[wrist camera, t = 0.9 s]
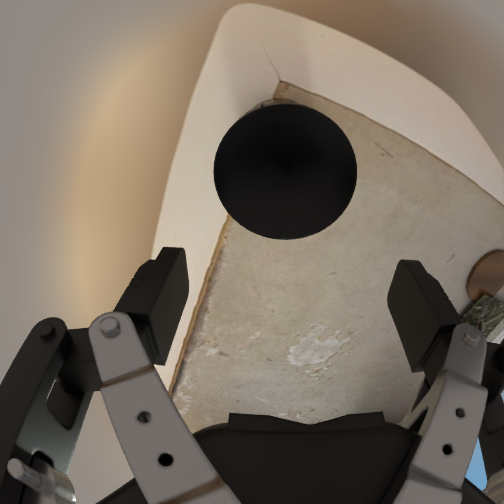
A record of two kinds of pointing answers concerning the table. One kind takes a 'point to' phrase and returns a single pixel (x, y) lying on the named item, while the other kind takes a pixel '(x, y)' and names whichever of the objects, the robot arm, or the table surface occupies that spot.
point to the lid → (285, 171)
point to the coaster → (486, 276)
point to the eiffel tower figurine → (485, 314)
